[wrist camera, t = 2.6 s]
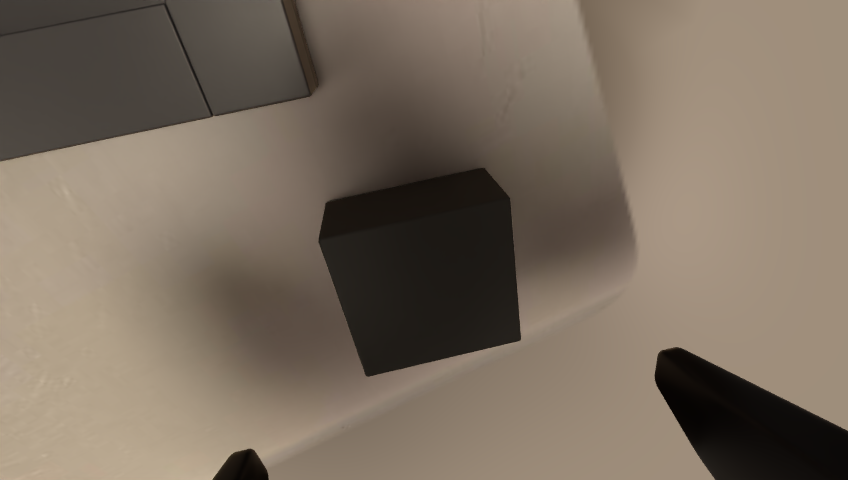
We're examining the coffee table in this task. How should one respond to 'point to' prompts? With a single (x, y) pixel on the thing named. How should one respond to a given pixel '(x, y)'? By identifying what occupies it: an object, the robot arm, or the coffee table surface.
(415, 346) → the black angular block
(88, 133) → the base pad
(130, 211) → the coffee table surface
